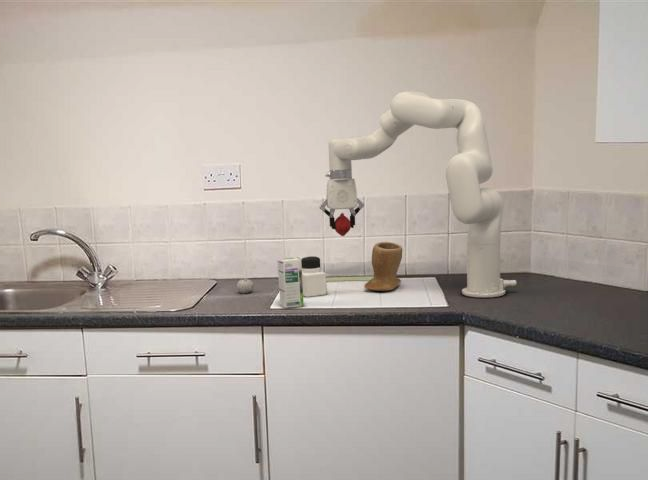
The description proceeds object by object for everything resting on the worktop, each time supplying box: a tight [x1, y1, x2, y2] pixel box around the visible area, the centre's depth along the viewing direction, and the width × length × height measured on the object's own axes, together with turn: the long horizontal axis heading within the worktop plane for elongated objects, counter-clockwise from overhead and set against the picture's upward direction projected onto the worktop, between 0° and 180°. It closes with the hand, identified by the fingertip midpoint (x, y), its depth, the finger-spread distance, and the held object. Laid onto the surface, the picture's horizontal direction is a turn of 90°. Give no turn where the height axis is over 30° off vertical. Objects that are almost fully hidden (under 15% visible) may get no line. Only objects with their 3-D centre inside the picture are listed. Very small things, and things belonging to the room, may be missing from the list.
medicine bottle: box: [300, 255, 328, 298], centre depth 242 cm, size 7×7×12 cm
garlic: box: [236, 277, 254, 295], centre depth 250 cm, size 6×5×5 cm
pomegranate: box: [334, 212, 352, 237], centre depth 261 cm, size 6×6×8 cm
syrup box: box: [277, 256, 305, 309], centre depth 226 cm, size 6×6×14 cm
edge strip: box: [326, 275, 374, 282], centre depth 264 cm, size 20×6×1 cm, turn 81°
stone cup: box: [364, 241, 403, 292], centre depth 243 cm, size 15×12×15 cm
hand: (342, 227), depth 261 cm, fingers closed on pomegranate, 5 cm apart
